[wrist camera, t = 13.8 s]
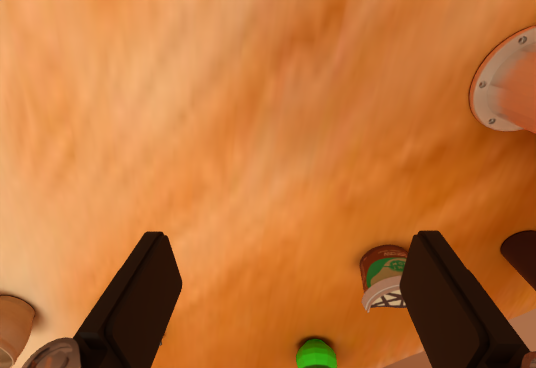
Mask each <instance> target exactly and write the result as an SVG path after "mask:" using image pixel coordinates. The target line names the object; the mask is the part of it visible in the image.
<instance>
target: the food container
mask: <svg viewBox="0 0 536 368" xmlns="http://www.w3.org/2000/svg"><path fill="white" fill-rule="evenodd" d="M407 256H408V252H407V251H405V250H404V249H403V248H401V247H398V246H395V245H382V246H378V247H375V248H373V249H371V250H369V251H368V252H367V253H366V254H365V255H364V256H363V257H362V259H361V261H360V270H361V276H362V283H363V289H364V295H363V298H362V304H363V306H364V308H365V309H367V312H368V313H369V309H370V307H371V308H373V307H395V308H406V304H405V302H404V300H403V297H402V295H401V292H400V288H399V284H400V280H401V276H402V273H403V270H404V266H405V263H406V259H407Z"/></svg>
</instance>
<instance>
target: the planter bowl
mask: <svg viewBox="0 0 536 368" xmlns="http://www.w3.org/2000/svg"><path fill="white" fill-rule="evenodd" d="M34 316H35V311H34V309H33V308H32V307H31V306H30V305H29V304H27V303H26V302H24V301H22V300H20V299H18V298H14V297H11V296H0V368H11V367H12V366H13V365H14V364H15V362H16V360H17V358H18V357H19V355H20V354H21V352H22V351H23V349H24V348H25V346H26V344H27V342H28V339H29V336H30V333H31V329H32V319H33V318H34Z"/></svg>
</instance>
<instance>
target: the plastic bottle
mask: <svg viewBox="0 0 536 368" xmlns="http://www.w3.org/2000/svg"><path fill="white" fill-rule="evenodd" d="M296 362H297V366H298V368H337V361H336V354H335V352H334V351H333V349H332V348H331V347H329V346H328V345H327V344H325V342H323V341H321V340H318V339H312V340H308V341H307V342H306V343H305V344H304V345H303V346H302V347H301V348H300V349H299V350H298V352H297V355H296Z"/></svg>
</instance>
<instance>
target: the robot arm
mask: <svg viewBox="0 0 536 368" xmlns="http://www.w3.org/2000/svg"><path fill="white" fill-rule="evenodd" d="M469 98H470V107H471V110H472V113H473V114H474V116H475V118H476V119H477V120H478V121H479V122H480V123H482V124H483V125H485V126H487V127H489V128H492V129H494V130H499V131H517V130H522V129H526V130H528V131H531V132H533V133H535V134H536V26H532V27H529V28H527V29H524V30H522V31H520V32H518V33H516V34H514V35H513V36H511V37H509V38H508V39H506V40H505V41H504V42H502V43H501V44H500V45H499V46H497V47H496V48H495V49H494V50H493V51H492V52H491V53H490V54H489V55H488V56H487V58H486V59H485V60H484V62H483V63H482V64H481V66H480V67H479V69H478V71H477V73H476V75H475V77H474V79H473V82H472V85H471V89H470V95H469ZM399 288H400V292H401V295H402V297H403V300H404V302H405V304H406V307H407V309H408V312H409V314H410V316H411V319H412V321H413V323H414V326H415V328H416V330H417V333H418V335H419V337H420V340H421V342H422V344H423V347H424V349H425V351H426V354H427V356H428V358H429V361H430V363H431V365H432V368H536V351H534V352H530V351H529V349H528V348H527V346H526V345H525V344H524V342H523V341H522V340H521V338H520V337H519V335H518V334H517V333H516V331H515V330H514V329H513V327H512V326H511V325H510V324H509V322H508V321H507V319H506V318H505V317H504V315H503V314H502V313H501V311H500V310H499V309H498V307H497V306H496V305H495V303H494V302H493V301H492V299H491V298H490V297H489V295H488V294H487V293H486V291H485V290H484V289H483V287H482V286H481V285H480V283H479V282H478V281H477V279H476V278H475V276H474V275H473V274H472V273H471V272H470V271H469V270H468V269H467V268H466V267H465V266H464V264H463V263H462V262H461V260H460V259H459V258H458V256H457V255H456V253H455V252H454V251H453V249H452V248H451V247H450V245H449V244H448V243H447V241H446V240H445V239H444V237H443V236H442V235H441V233H440V232H439V231H419V232H418V234H417V235H414V236H413V239H412V242H411V246H410V249H409V252H408V256H407V259H406V263H405V266H404V270H403V273H402V276H401V280H400V284H399ZM181 289H182V279H181V276H180V273H179V270H178V267H177V264H176V261H175V257H174V254H173V251H172V248H171V245H170V242H169V239H168V236H167V235H164V234H163V232H146V233H145V234H144V235H143V236H142V238H141V239H140V241H139V242H138V244H137V245H136V247H135V248H134V250H133V251H132V253H131V254H130V256H129V257H128V259H127V260H126V261H125V263H124V264H123V266H122V267H121V269H120V270H119V271H118V272H117V274H116V275H115V277H114V278H113V280H112V281H111V283H110V284H109V285H108V287H107V288H106V290H105V291H104V293H103V294H102V296H101V297H100V299H99V300H98V302H97V303H96V305H95V306H94V308H93V309H92V310H91V312H90V313H89V315H88V316H87V318H86V319H85V321H84V322H83V324H82V325H81V327H80V328H79V330H78V331H77V333H76V334H75V336H74V337H73V338H66V337H65V338H60V339H56V340H54V341H51V342H49V343H47V344H46V345H44V346H42V347H41V348H39V349H38V350H37V351H36V352H35V353H34V354H32V355H31V356H30V358H29V359H28V360H27V361H26V362H25V363H24V365H23V367H22V368H151V366H152V363H153V361H154V358H155V355H156V353H157V350H158V348H159V345H160V343H161V340H162V338H163V335H164V333H165V330H166V328H167V325H168V322H169V320H170V317H171V315H172V312H173V310H174V307H175V305H176V302H177V300H178V297H179V295H180V292H181Z"/></svg>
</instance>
